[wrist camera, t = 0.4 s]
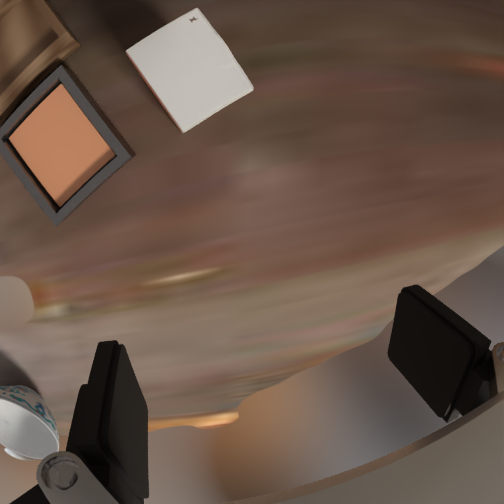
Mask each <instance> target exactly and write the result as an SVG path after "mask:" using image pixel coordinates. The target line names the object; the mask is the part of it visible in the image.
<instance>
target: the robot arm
mask: <svg viewBox="0 0 504 504" xmlns="http://www.w3.org/2000/svg"><path fill="white" fill-rule="evenodd" d="M490 344H491V340H489V339H488V338H487V337H486V336H484V335H483V334H482V333H481V332H479V331H478V330H477V329H476V328H474V327H473V326H472V325H471V324H469V323H468V322H467V321H465V320H464V319H463V318H462V317H460V316H459V315H458V314H456V313H455V312H454V311H453V310H451V309H450V308H449V307H447V306H446V305H444V304H443V303H442V302H441V301H439V300H438V299H437V298H435V297H434V296H433V295H431V294H430V293H429V292H427V291H426V290H425V289H423V288H422V287H421V286H419V285H412V286H408V287H404V288H403V289H402V290H401V293H399V295H398V299H397V305H396V311H395V317H394V322H393V328H392V333H391V338H390V344H389V348H388V357H389V359H390V361H391V362H392V363H393V364H394V365H395V367H396V368H397V369H398V370H399V371H400V372H401V373H402V374H403V376H404V377H405V378H406V379H407V380H408V382H409V383H410V384H411V385H412V386H413V387H414V389H415V390H416V391H417V392H418V393H419V394H420V396H421V397H422V398H423V399H424V400H425V401H426V403H427V404H428V405H429V406H430V408H431V409H432V410H433V411H434V412H435V413H436V415H437V416H438V417H442V418H443V419H444V420H445V421H446V423H448V422H450V421H452V420H453V419H455V418H457V417H458V415H459V413H460V414H461V415H462V417H461V418H459V419H457V420H455V421H454V422H452V423H450V424H448V425H447V426H445V427H443V428H441V429H439V430H438V431H436V432H434V433H432V434H430V435H428V436H426V437H424V438H422V439H420V440H418V441H416V442H414V443H412V444H410V445H408V446H406V447H404V448H402V449H399V450H397V451H395V452H393V453H391V454H388V455H386V456H384V457H381V458H379V459H376V460H374V461H372V462H369V463H367V464H364V465H361V466H359V467H356V468H354V469H351V470H348V471H345V472H343V473H340V474H337V475H334V476H331V477H328V478H325V479H322V480H318V481H315V482H312V483H309V484H305V485H302V486H298V487H295V488H291V489H287V490H283V491H279V492H275V493H271V494H267V495H262V496H258V497H253V498H248V499H242V500H237V501H231V502H226V503H220V504H504V342H501V343H497V344H496V345H495V346H494V347H493V349H492V351H490V350H489V346H490ZM36 473H37V474H36V475H37V477H36V478H37V481H38V484H37V485H36V486H34V487H33V488H32V489H30V490H29V491H27V492H26V493H25V494H23V495H22V496H20V497H19V498H17V499H16V500H14V501H13V502H12V503H10V504H144V498H148V497H149V481H148V409H147V404H146V401H145V399H144V396H143V394H142V392H141V389H140V386H139V384H138V381H137V379H136V376H135V373H134V371H133V368H132V365H131V363H130V360H129V357H128V354H127V351H126V348H125V346H124V345H123V344H118V342H117V341H116V340H113V341H104V342H99V343H98V346H97V349H96V353H95V357H94V360H93V364H92V368H91V372H90V376H89V380H88V384H83V385H82V386H81V388H80V390H79V394H78V398H77V402H76V406H75V410H74V414H73V419H72V423H71V428H70V432H69V437H68V442H67V447H66V451H59V452H54V453H52V454H49V455H47V456H46V457H45V458H44V459H43V460H42V461H41V463H40V464H39V465H38V468H37V472H36Z"/></svg>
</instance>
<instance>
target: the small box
mask: <svg viewBox="0 0 504 504" xmlns="http://www.w3.org/2000/svg"><path fill="white" fill-rule="evenodd" d="M126 54H127V55H128V57H129V58H130V60H131V62H132V63H133V65H134V66H135V68H136V69H137V71H138V72H139V73H140V75H141V77H142V78H143V80H144V81H145V83H146V84H147V85H148V87H149V88H150V89H151V91H152V92H153V94H154V95H155V97H156V98H157V99H158V101H159V102H160V104H161V105H162V106H163V108H164V109H165V111H166V112H167V113H168V115H169V116H170V117H171V119H172V120H173V122H174V123H175V124H176V126H177V127H178V129H179V130H180V132H181V133H185V132H186V131H188V130H189V129H191V128H192V127H194V126H196V125H197V124H199V123H200V122H202V121H203V120H205V119H207V118H208V117H210V116H211V115H213V114H214V113H216V112H218V111H219V110H221V109H222V108H224V107H226V106H227V105H229V104H231V103H232V102H234V101H236V100H237V99H239V98H241V97H242V96H244V95H246V94H248V93H249V92H251V91H253V89H254V87H253V85H252V84H251V82H250V81H249V79H248V77H247V76H246V74H245V73H244V71H243V70H242V68H241V67H240V65H239V64H238V62H237V61H236V59H235V58H234V56H233V55H232V53H231V51H230V50H229V48H228V47H227V45H226V44H225V42H224V41H223V40H222V38H221V37H220V36H219V35H218V33H217V32H216V31H215V30H214V28H213V27H212V26H211V25H210V23H209V22H208V20H207V19H206V18H205V17H204V15H203V14H202V13H201V11H200V10H199V9H198V8H195V9H193V10H191V11H190V12H188V13H186V14H184V15H182V16H181V17H179V18H177V19H175V20H174V21H172V22H170V23H169V24H167V25H165V26H163V27H162V28H160V29H158V30H157V31H155V32H154V33H152V34H150V35H149V36H147V37H146V38H144V39H143V40H141V41H139V42H138V43H136V44H135V45H134V46H132V47H130V48H129V49H127V50H126Z"/></svg>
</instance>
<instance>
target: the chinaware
mask: <svg viewBox="0 0 504 504" xmlns="http://www.w3.org/2000/svg"><path fill="white" fill-rule="evenodd" d="M0 443H1V444H2V445H4V446H5V447H7V448H8V449H10V450H12V451H14V452H16V453H18V454H21V455H24V456H27V457H31V458H36V459H44V458H45V457H46V456H47V455H49V454H52V453H54V452H58V450H59V435H58V430H57V426H56V423H55V420H54V418H53V416H52V414H51V412H50V411H49V409H48V408H47V406H46V405H45V404H44V401H43V400H42V398H41V397H40V395H39V394H38V393H36V392H35V391H34V390H32V389H31V388H29V387H26V386H23V385H15V386H11V385H4V386H0Z"/></svg>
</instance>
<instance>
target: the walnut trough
mask: <svg viewBox="0 0 504 504" xmlns="http://www.w3.org/2000/svg"><path fill="white" fill-rule="evenodd" d="M80 46H81V45H80V43H79V42H78V41H77V39H76V38H75V37H74V35H73V34H72V33H71V32H70V30H69V29H68V28H67V26H66V25H65V24H64V22H63V21H62V20H61V18H60V17H59V16H58V14H57V13H56V12H55V10H54V9H53V8H52V6H51V5H50V4H49V2H48V1H47V0H0V126H1V124H2V123H3V122H4V121H5V120H6V118H7V117H8V116H9V115H10V114H11V113H12V112H13V110H14V109H15V108H16V107H17V106H18V105H19V104H20V103H21V102H22V101H23V100H24V98H25V97H26V96H27V95H28V94H29V93H30V92H31V91H32V90H33V89H34V88H35V87H36V86H37V85H38V84H39V83H40V82H41V81H42V80H43V79H44V78H45V77H46V76H47V75H48V74H49V73H51V72H52V71H53V70H54V69H55V68H56V67H57V66H58V65H59V64H60V63H61V62H63V61H64V60H65V59H66V58H67V57H68V56H69V55H71V54H72V53H73V52H74V51H75V50H76V49H78V48H79V47H80Z"/></svg>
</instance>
